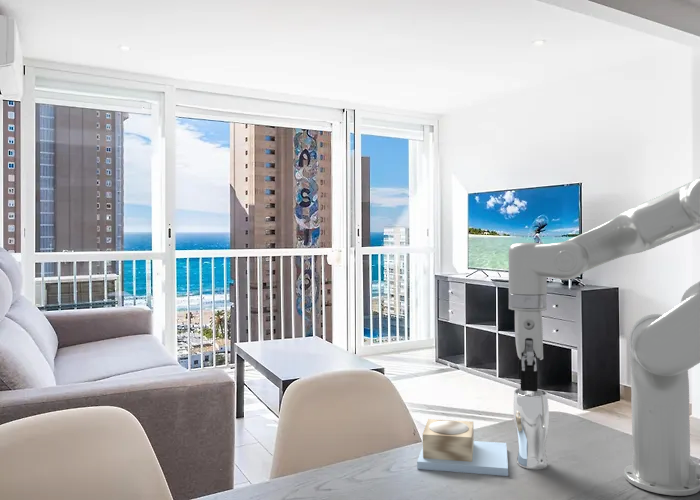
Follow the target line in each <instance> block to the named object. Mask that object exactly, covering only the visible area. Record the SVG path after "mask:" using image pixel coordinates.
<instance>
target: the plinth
mask: <svg viewBox="0 0 700 500" xmlns="http://www.w3.org/2000/svg"><path fill="white" fill-rule="evenodd" d="M474 431H475V430H474V421H468V420H448V419H431V418H428V419H427V421H426V425H425V427H424V430H423V433H422V446H423V458H428V459H441V460H455V461H468V462H472V458H473V448H474V441H475V440H474V438H475V435H474Z"/></svg>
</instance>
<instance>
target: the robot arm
mask: <svg viewBox="0 0 700 500" xmlns="http://www.w3.org/2000/svg"><path fill="white" fill-rule="evenodd" d="M699 230H700V176H699V177H697V178H696V179H694V180H692V181H689V182H688V183H686V184H685V183H684V184H683V185H681V186H679V187H676V188H675V189H672V190H670V191H667V192H666V193H663V194H660V195H659V196H656V197H653V198H652V199H650V200H648V201H645V202H643V203H640V204H638V205H635V206H633V207H631V208H629V209H626V210H625V211H623V212H621V213H620V214H618V215H616V216H615V217H613V218H612V219H610V220H609V221H606V222H605V223H603V224H601V225H598V226H597V227H594V228H592V229H590V230H587V231H586V232H583V233H581V234H579V235H577V236H574V237H572V238H570V239H567V240H565V241H559V242H554V243H541V242H514V243H513V244H510V246H509V248H508V310H511V311H514V337H515V338H514V339H515V347H516V353H517V354H516V355H517V357H518V358H519V359H518V361H517V362H518V365H517V366H518V367H517V368H518V378H519V379H520V388H521V390H522V391H537V390H538V389H539V387H538V385H539V384H538V383H539V382H538V380H539V378H538V377H539V375H538V374H539V372H538V369H537V359H539V360H540V361H542V360H544V346H543V345H544V341H543V339H544V337H543V336H544V334H543V333H544V332H543V315H542V312H543V311H544V312H545V311H547V309H548V308H547V307H548V306H547V305H548V303H547V301H548V300H547V298H548V295H547V293H548V292H547V290H548V289H547V287H548V286H547V285H548V284H547V282H548V280H547V278H552V279H559V280H565V281H566V280H574V279H576V278H578V277H580V276H581V275H582V274H583V273H585V272H587V271H589V270H592V269H594V268H596V267H599V266H601V265H603V264H606V263H610V262H611V261H614V260H617V259H620V258H622V257H626V256H630V255H636V254H641V253H643V252H647V251H649V250H652V249H655V248H657V247H658V246H661V245H665V244H666V243H669V242H671V241H673V240H676V239H679V238H680V237H684V236H686V235H688V234H691V233H694V232H696V231H699ZM628 337H629V338H628V339H629V340H628V346H629V362H630V363H629V364H630V383H631V385H630V388H631V399H630V400H631V435H632V436H631V439H632V444H631V445H632V463H630V464H628V465H627V466H625V467H624V469H623V475H624V478H625V480H626V481H627V482H629V483H630V484H632V485H633V486H635V487H636V488H639V489H641V490H645V491H647V492H650V493H654V494H658V495H659V494H660V495H664V496H671V497H674V496H675V497H676V496H677V497H685V496H686V497H687V496H692V495H695V494H697V493H698V492H700V462H694V461H693V460H692V459H691V434H690V433H691V429H690V426H691V425H690V421H691V420H690V382H689V381H690V379H689V370H690V369H692V368H694V367H695V366H697V365H699V364H700V280H699V281H698V282H695V283H694V284H692V285H691V286H690V287H688V289H686V290H685V292H684V293H683V294H682V297H681V300H680V303H678V304H676V305H675V306H673V307H672V308H671V309H669V310H668V311H666V312H665V313H663V314H661V313H660V314H659V313H654V314H653V313H652V314H651V313H650V314H647V315H645V316H642V317H640V318H639V319H638V320H637V321H635V322H634V324H632V327H631V329H630V332H629V336H628Z"/></svg>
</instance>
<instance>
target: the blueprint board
mask: <svg viewBox="0 0 700 500" xmlns="http://www.w3.org/2000/svg"><path fill="white" fill-rule="evenodd" d="M416 469H417V470H429V471H442V472H453V473H454V472H455V473H466V474H468V473H469V474H479V475H489V476H503V477H508V476H509V462H508V448H507V442H497V441H495V442H494V441H482V440H474V448H473V458H472V462H468V461H455V460H441V459H428V458H423V445H422V447H421V450H420V452H419V455H418V458H417V460H416Z"/></svg>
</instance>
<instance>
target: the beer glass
mask: <svg viewBox="0 0 700 500" xmlns="http://www.w3.org/2000/svg"><path fill="white" fill-rule="evenodd" d="M513 393H514V395H513V420H514V426H515V431H516V432H515V433H516V435H517V437H516V438H517V443H518V451H517V458H516V463H517V465H518V466H520V467H521V468H524V469H527V470H532V471H533V470H534V471H535V470H536V471H539V470H545V469H546V468H548V465H549V462H548V457H547V452H546V445H547V444H546V443H547V438H548V437H547V436H548V431H549V422H550V421H549V420H550V409H549V406H550V405H549V400H548V397H549V396H548V391H546V390H544V389H540V388H538V390H537V391H522V390H521V387H520V388H517V389H515V390H514V391H513Z"/></svg>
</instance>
